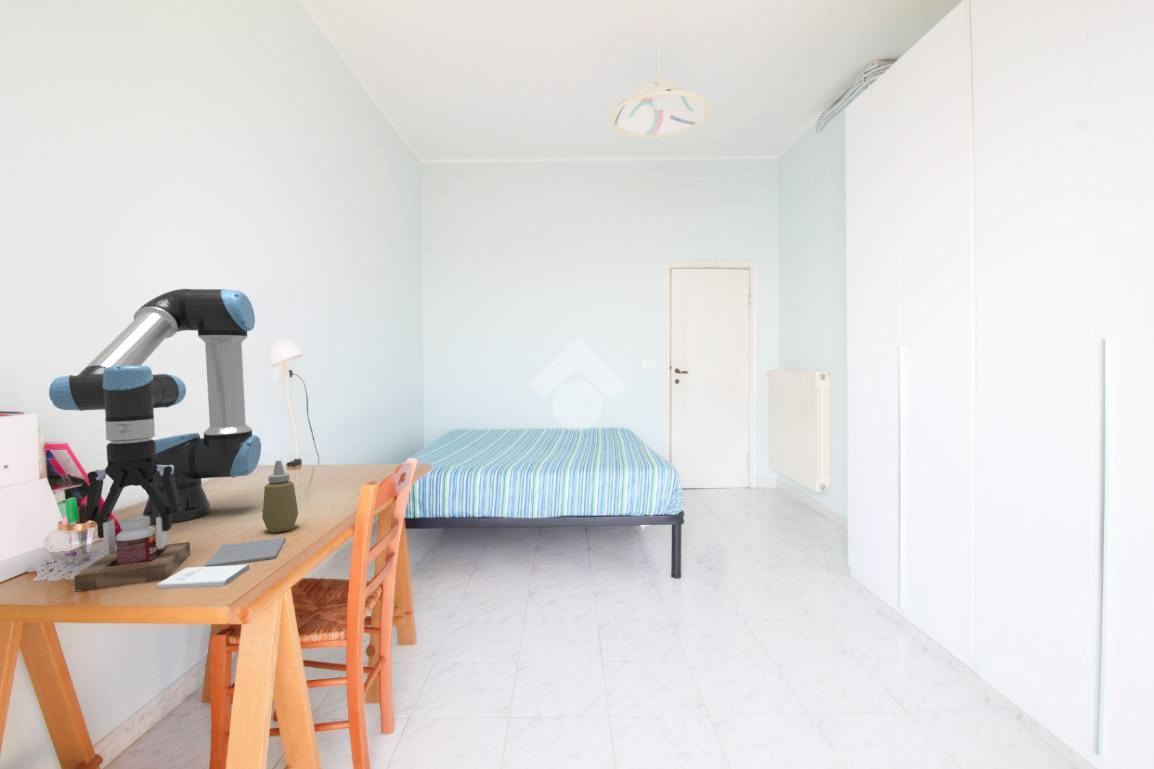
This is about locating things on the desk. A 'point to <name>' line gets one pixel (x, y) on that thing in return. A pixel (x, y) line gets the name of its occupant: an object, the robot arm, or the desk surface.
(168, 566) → the walnut frame
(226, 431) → the robot arm
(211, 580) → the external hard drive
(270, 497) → the squeeze bottle
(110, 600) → the desk surface
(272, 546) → the grey mat
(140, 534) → the pill bottle
